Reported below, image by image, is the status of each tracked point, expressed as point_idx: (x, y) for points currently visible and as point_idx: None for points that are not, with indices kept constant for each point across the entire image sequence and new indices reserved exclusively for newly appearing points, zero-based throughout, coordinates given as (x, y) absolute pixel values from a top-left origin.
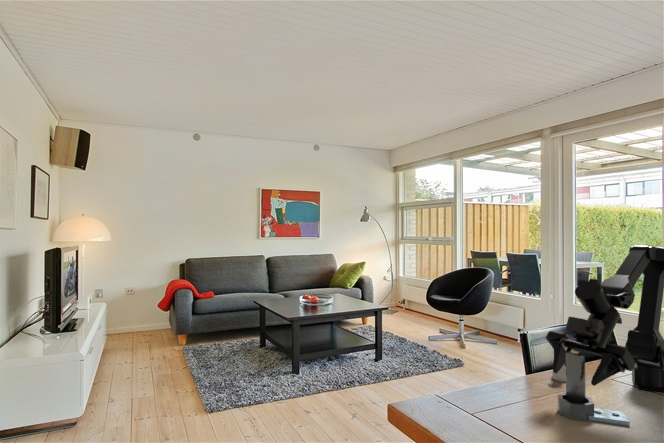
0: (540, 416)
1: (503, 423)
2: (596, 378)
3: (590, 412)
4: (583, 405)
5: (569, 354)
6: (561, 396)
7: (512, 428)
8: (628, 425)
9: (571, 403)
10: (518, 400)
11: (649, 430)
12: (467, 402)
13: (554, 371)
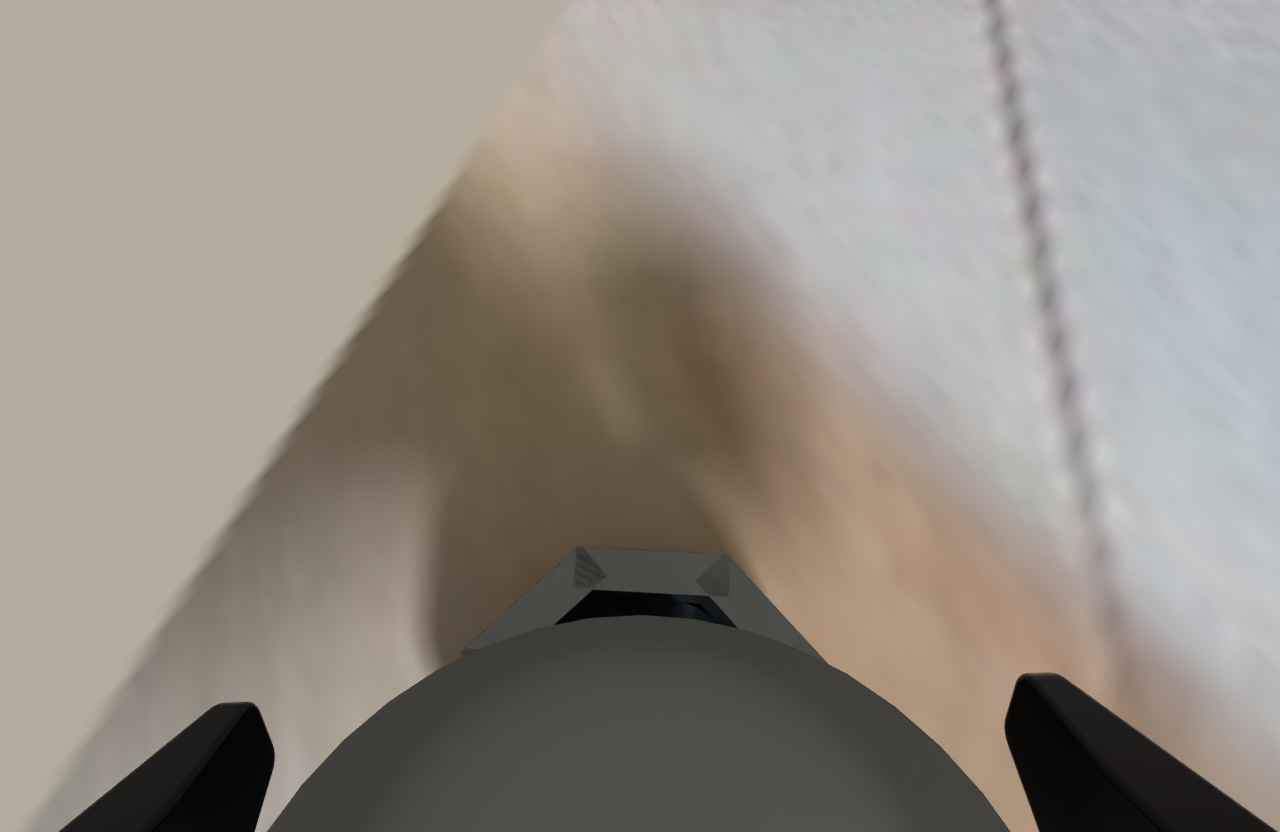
0: (748, 372)
1: (771, 49)
2: (110, 806)
3: None
4: (478, 639)
5: (690, 680)
6: None
7: (686, 45)
8: None
9: (577, 559)
10: (1107, 490)
11: None
12: (1183, 78)
13: (1020, 682)
